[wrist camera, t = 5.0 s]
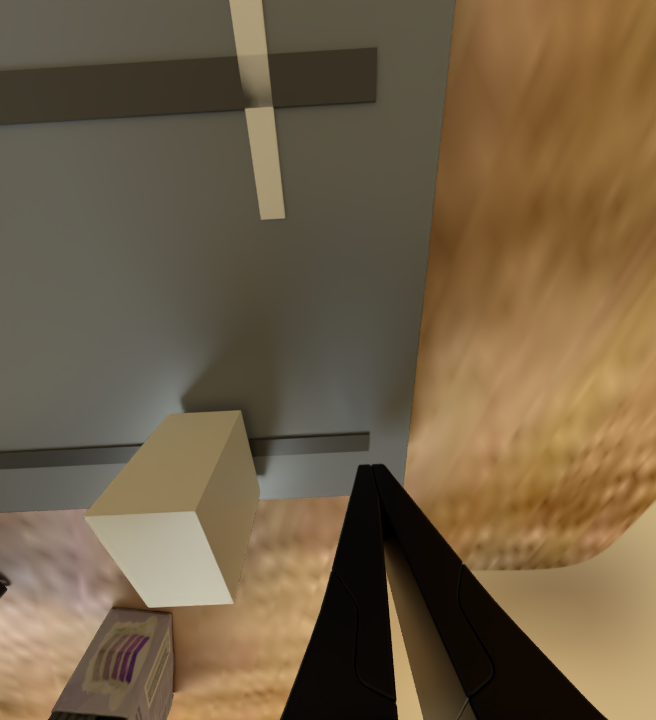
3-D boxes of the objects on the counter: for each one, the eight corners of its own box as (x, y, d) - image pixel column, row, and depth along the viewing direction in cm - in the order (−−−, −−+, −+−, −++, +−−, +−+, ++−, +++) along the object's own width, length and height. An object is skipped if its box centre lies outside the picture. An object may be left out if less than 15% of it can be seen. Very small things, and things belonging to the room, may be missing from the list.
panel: (391, 456, 13) (403, 495, 11) (-129, 482, 13) (-203, 524, 11) (430, -63, 6) (479, -195, 4) (-681, 11, 6) (-1118, -85, 4)
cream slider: (260, 492, 11) (234, 603, 7) (200, 495, 11) (148, 607, 7) (240, 410, 9) (194, 510, 6) (168, 413, 9) (83, 516, 6)
